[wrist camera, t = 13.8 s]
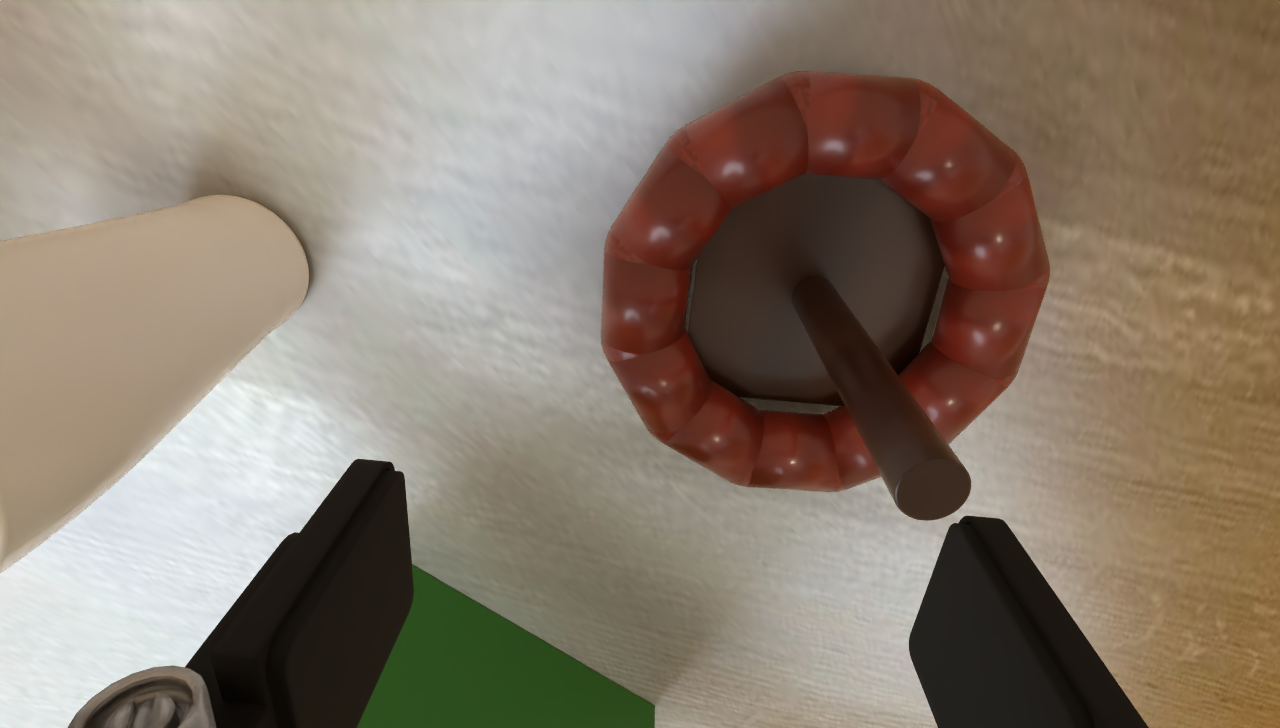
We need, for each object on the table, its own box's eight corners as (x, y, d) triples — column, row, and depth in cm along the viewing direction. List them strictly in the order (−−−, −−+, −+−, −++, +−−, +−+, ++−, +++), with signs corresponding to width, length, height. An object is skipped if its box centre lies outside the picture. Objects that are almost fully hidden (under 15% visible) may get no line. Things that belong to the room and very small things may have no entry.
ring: (1076, 88, 22) (1136, 94, 19) (954, 472, 28) (985, 517, 25) (614, 57, 22) (608, 59, 19) (598, 449, 28) (592, 492, 25)
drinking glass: (186, 134, 24) (-400, 250, 11) (359, 234, 26) (33, 444, 12) (139, 283, 27) (-383, 526, 13) (299, 366, 28) (-27, 660, 15)
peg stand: (951, 177, 24) (1244, 311, 12) (890, 394, 28) (1066, 658, 16) (706, 155, 24) (755, 268, 12) (679, 376, 28) (695, 628, 16)
